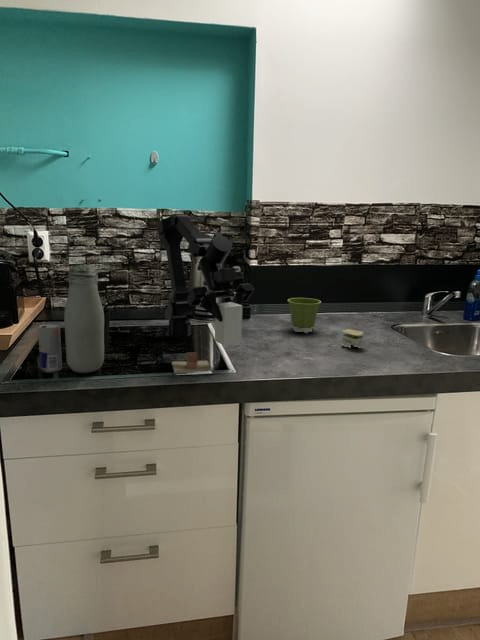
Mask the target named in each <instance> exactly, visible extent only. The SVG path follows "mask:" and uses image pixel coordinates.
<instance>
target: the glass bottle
mask: <svg viewBox="0 0 480 640" xmlns="http://www.w3.org/2000/svg"><path fill="white" fill-rule="evenodd" d="M67 280H68V283H69V284H68V285H69V289H68V293H67V294H68V295H67V298H66V303H65V307H64V311H63V313H64V314H63V319H64V321H63V322H64V338H65V340H64V341H65V351H66V352H65V354H66V364H67V365H68V367H69V368H70V369H71V370H72V371H73V372H74V373H79V374H89V373H93V372H96V371H98V370H99V369H101V367H102V366H103V364H104V362H105V361H104V360H105V352H104V311H103V309H104V308H103V305H102V301H101V297H100V294H99V288H98V283H99V276H98V270H97V269H96V268H95V267H92V265H77V266H75V267H72V268H71V269H69V270H68V278H67Z"/></svg>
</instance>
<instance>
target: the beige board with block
mask: <svg viewBox="0 0 480 640" xmlns="http://www.w3.org/2000/svg"><path fill="white" fill-rule="evenodd" d="M171 366H173V367H172V370H174V371H173V374H174V373H175V375H176V374H177V375H178V374H187V373H194V372H198V371H205V370H210V371H211V372H212V371H213V370H212V367H211V365H210V363H209V361H208V360H206V359H205V360H198V353H197V352H196V351H194V352H193V351H191V352H189V351H188V352H186V361H184V360H183V361H182V360H181V361H171ZM175 375H174V376H175Z"/></svg>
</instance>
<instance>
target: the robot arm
mask: <svg viewBox="0 0 480 640" xmlns="http://www.w3.org/2000/svg"><path fill="white" fill-rule="evenodd" d="M156 233H157V235H158V239H159V242H160V243H161V244H162V246H163V247H164V248H165V253H166V258H167V265H168V273H169V279H170V284H171V291H170V295H169V297H168V304H167V306H166V308H165V310H164V318H165V320H168V334H167V335H166V338H169V337H173V338H172V339H176V338H182V339H181V340H184V339H183V338H184V337H188V336H190V335H191V334H192V323H191V320H192V319H193V320H194V319H195V314H196V309H197V307H200V308H202V309H204V310H206V311H207V312H208V313H209V314H211V315H212V316H213V318H216V319H218V320H219V321H220V322H222V320H223V319H222V315H221V312H220V310H219V307H218V305H217V303H218V301H217V299H220V298H224V299H225V298H229V299H230V300H231V301H230V302H234V303H237V304H239V305H242V303H243V302H248V301H249V300H250V298H251V296H252V295H253V293H254V292H255V287H254V285H253V284H251V283H238V285H237V287H236V288H235V289H231V287H233V286H234V283H233V282H235V281H237V280H239V279H240V278H242V276H243V273H242V269H241V267H240V266H239V265H236V266H235V265H234V266H233V267H228V268H227V267H226V268H223V267H222V266H221V264H223V263H224V262H225V261H226V259H227V257H228V255H229V254H230V253H231V250H232V249H233V243H232V241H231V240H230V239H229V238H227V237H226V236H223V234H222V232H214V234H213V236H211V235H209V234H207V233H203V232H201V230H200V229H199V228H198V227H197V226H196V224H194V222H193V221H191V219H190V217H189V215H188V214H186V213H173V214H171V215H170V216H167V217H165V218H163V219H161V220H159V222H158V223H157V224H156ZM183 239H184V240H186V242H187V243H188V247H187V249H188V252H189V253H190V255H191V256H192V257H193V258H200V260H199V261H198V265H197V271H201V274H202V276H203V279H204V281H203V285H204V286H193V287H192V288H191V290H189V289H188V287H187V281H186V277H185V275H186V274H185V268H184V262H183V256H182V250H181V249H182V248H181V244H182V241H183ZM190 337H191V336H190ZM188 338H189V337H188Z"/></svg>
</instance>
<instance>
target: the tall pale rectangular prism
mask: <svg viewBox="0 0 480 640" xmlns="http://www.w3.org/2000/svg"><path fill="white" fill-rule="evenodd" d="M217 305H218V307H219V310H220V312H221V315H222V319H223V320H222V322H220V321H219V320H218V319H216V318H215V317H214V318H215V319H214V341H215V342H217V343H218V344H219V345H220V344H221V345H222V346H224V347H225V346H233V345H238V344H239V345H240V344H242V332H243V331H242V328H243V305H242V304H241V305H239V304H237V303H234V302H231V301H229V302H219V303H218V302H217Z"/></svg>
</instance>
